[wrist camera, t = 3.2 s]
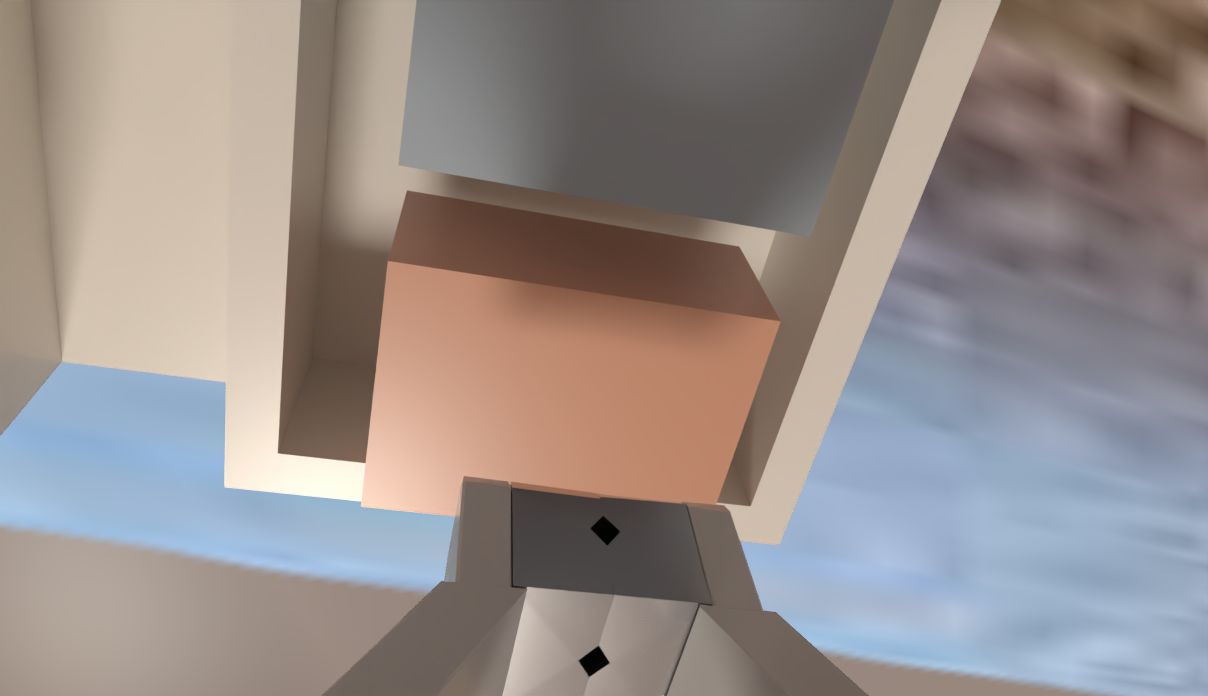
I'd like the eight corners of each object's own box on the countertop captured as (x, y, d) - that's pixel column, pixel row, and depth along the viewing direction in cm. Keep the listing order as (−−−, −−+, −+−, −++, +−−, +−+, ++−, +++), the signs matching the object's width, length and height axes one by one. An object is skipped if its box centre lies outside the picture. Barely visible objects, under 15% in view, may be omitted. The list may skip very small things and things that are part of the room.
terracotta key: (381, 410, 15) (361, 506, 13) (406, 190, 13) (387, 261, 11) (676, 445, 16) (702, 541, 13) (739, 246, 14) (780, 321, 12)
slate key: (416, 107, 12) (398, 165, 10) (454, -215, 10) (441, -225, 8) (762, 172, 13) (811, 236, 11) (852, -114, 11) (928, -100, 9)
